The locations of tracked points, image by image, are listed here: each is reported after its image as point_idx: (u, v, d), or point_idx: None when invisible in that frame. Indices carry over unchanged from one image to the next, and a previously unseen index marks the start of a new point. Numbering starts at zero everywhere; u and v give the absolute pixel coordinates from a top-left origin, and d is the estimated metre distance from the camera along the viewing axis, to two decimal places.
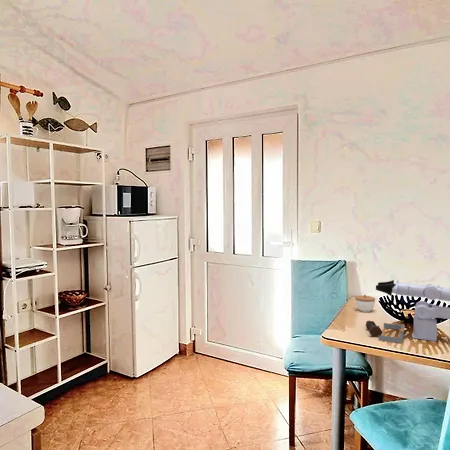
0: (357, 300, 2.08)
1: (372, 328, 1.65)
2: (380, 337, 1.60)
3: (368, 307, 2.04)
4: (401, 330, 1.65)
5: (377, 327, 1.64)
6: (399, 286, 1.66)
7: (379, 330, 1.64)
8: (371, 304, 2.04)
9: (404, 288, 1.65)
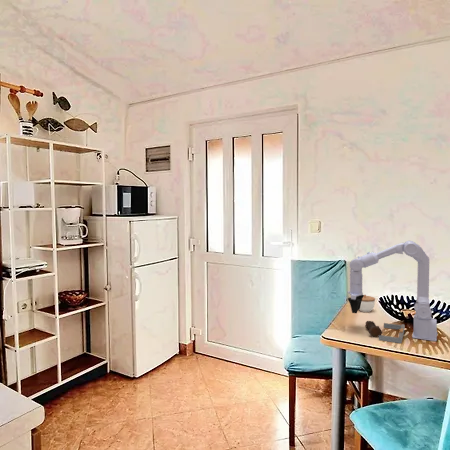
0: None
1: (372, 328, 1.65)
2: (380, 337, 1.60)
3: (368, 307, 2.04)
4: (401, 330, 1.65)
5: (377, 327, 1.64)
6: (352, 291, 1.74)
7: (379, 330, 1.64)
8: (371, 304, 2.04)
9: (353, 287, 1.73)
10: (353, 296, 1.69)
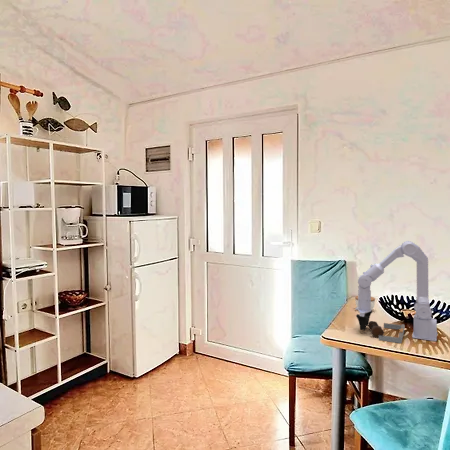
0: (357, 300, 2.08)
1: (374, 328, 1.64)
2: (380, 337, 1.60)
3: None
4: (401, 330, 1.65)
5: (379, 327, 1.63)
6: (360, 308, 1.72)
7: (381, 330, 1.63)
8: (371, 304, 2.04)
9: (362, 304, 1.71)
10: (362, 313, 1.67)
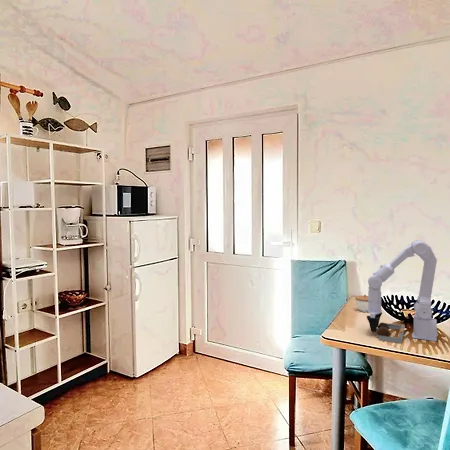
0: (357, 300, 2.08)
1: (380, 329, 1.63)
2: (380, 337, 1.60)
3: None
4: (401, 330, 1.65)
5: (385, 329, 1.62)
6: (370, 309, 1.70)
7: (387, 332, 1.61)
8: None
9: (372, 305, 1.69)
10: (372, 314, 1.65)
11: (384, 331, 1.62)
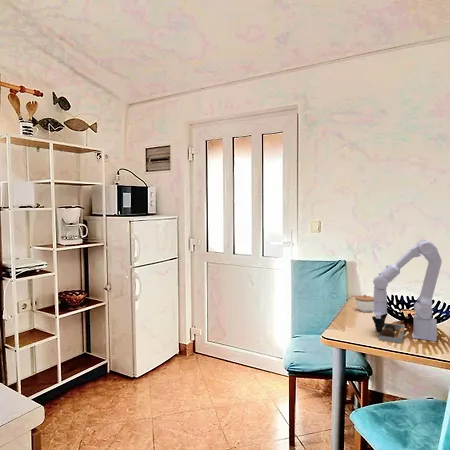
0: (357, 300, 2.08)
1: (384, 330, 1.61)
2: (380, 337, 1.60)
3: (368, 307, 2.04)
4: (401, 330, 1.65)
5: (389, 330, 1.60)
6: (376, 310, 1.69)
7: (391, 333, 1.60)
8: (371, 304, 2.04)
9: (378, 305, 1.68)
10: (378, 315, 1.64)
11: (388, 332, 1.61)
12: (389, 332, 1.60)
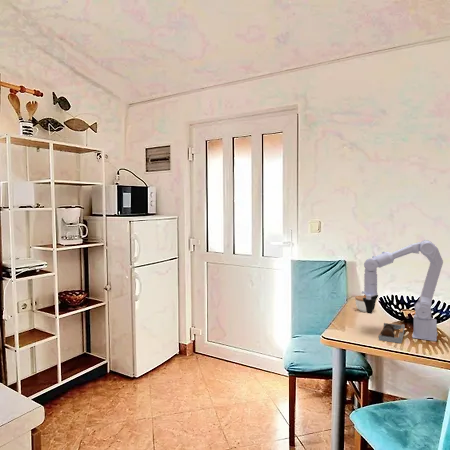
0: (357, 300, 2.08)
1: (384, 330, 1.61)
2: (380, 337, 1.60)
3: None
4: (401, 330, 1.65)
5: (389, 330, 1.60)
6: (366, 291, 1.72)
7: (391, 333, 1.60)
8: None
9: (368, 287, 1.71)
10: (368, 296, 1.67)
11: (388, 332, 1.60)
12: (389, 332, 1.60)
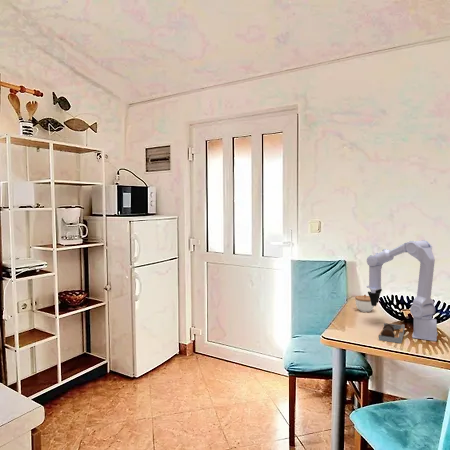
0: (357, 300, 2.08)
1: (384, 331, 1.61)
2: (380, 337, 1.60)
3: (368, 307, 2.04)
4: (401, 330, 1.65)
5: (389, 330, 1.60)
6: (371, 285, 1.85)
7: (391, 333, 1.60)
8: None
9: (373, 281, 1.84)
10: (373, 290, 1.80)
11: (388, 332, 1.60)
12: (389, 332, 1.60)
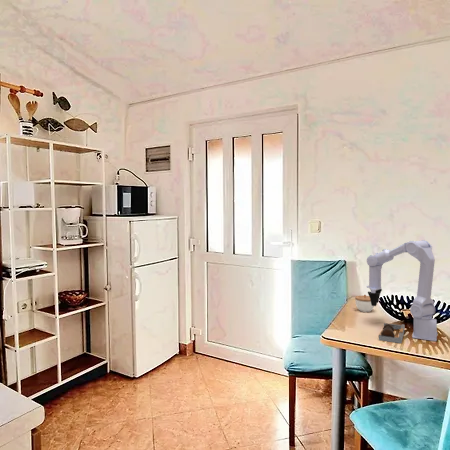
0: (357, 300, 2.08)
1: (384, 331, 1.61)
2: (380, 337, 1.60)
3: (368, 307, 2.04)
4: (401, 330, 1.65)
5: (389, 330, 1.60)
6: (371, 285, 1.85)
7: (391, 333, 1.60)
8: None
9: (373, 281, 1.84)
10: (373, 290, 1.80)
11: (388, 332, 1.60)
12: (389, 332, 1.60)
